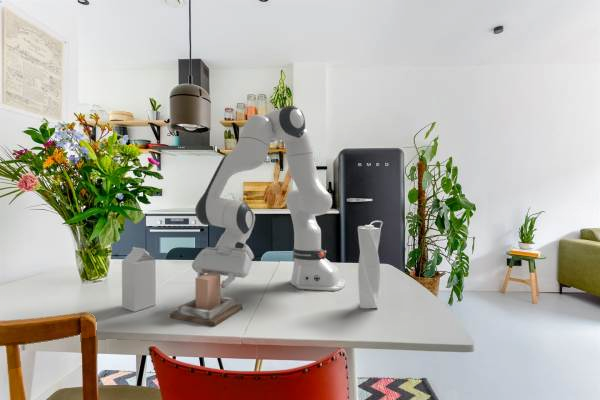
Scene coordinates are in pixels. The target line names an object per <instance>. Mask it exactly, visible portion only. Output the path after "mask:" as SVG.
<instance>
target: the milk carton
mask: <svg viewBox="0 0 600 400" xmlns="http://www.w3.org/2000/svg"><path fill="white" fill-rule="evenodd" d="M156 271H157V270H156V259H155V258H154V257H153V256H151V255H150V252H148V251H147V250H146V249H145V248H142V247H135V246H133V247H132V250H130V252H129V253H128V254H127V255H126V257H124V258H123V259H122V261H121V303H122V305H121V308H122V309H125V310H128V311H131V312H138V311H142V310H144V309H148V308H150V307H154V306H156V305H157V303H156V302H157V298H156V297H157V293H156V286H157V285H156V284H157V283H156V281H157V280H156V278H157V277H156V273H157V272H156Z"/></svg>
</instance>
